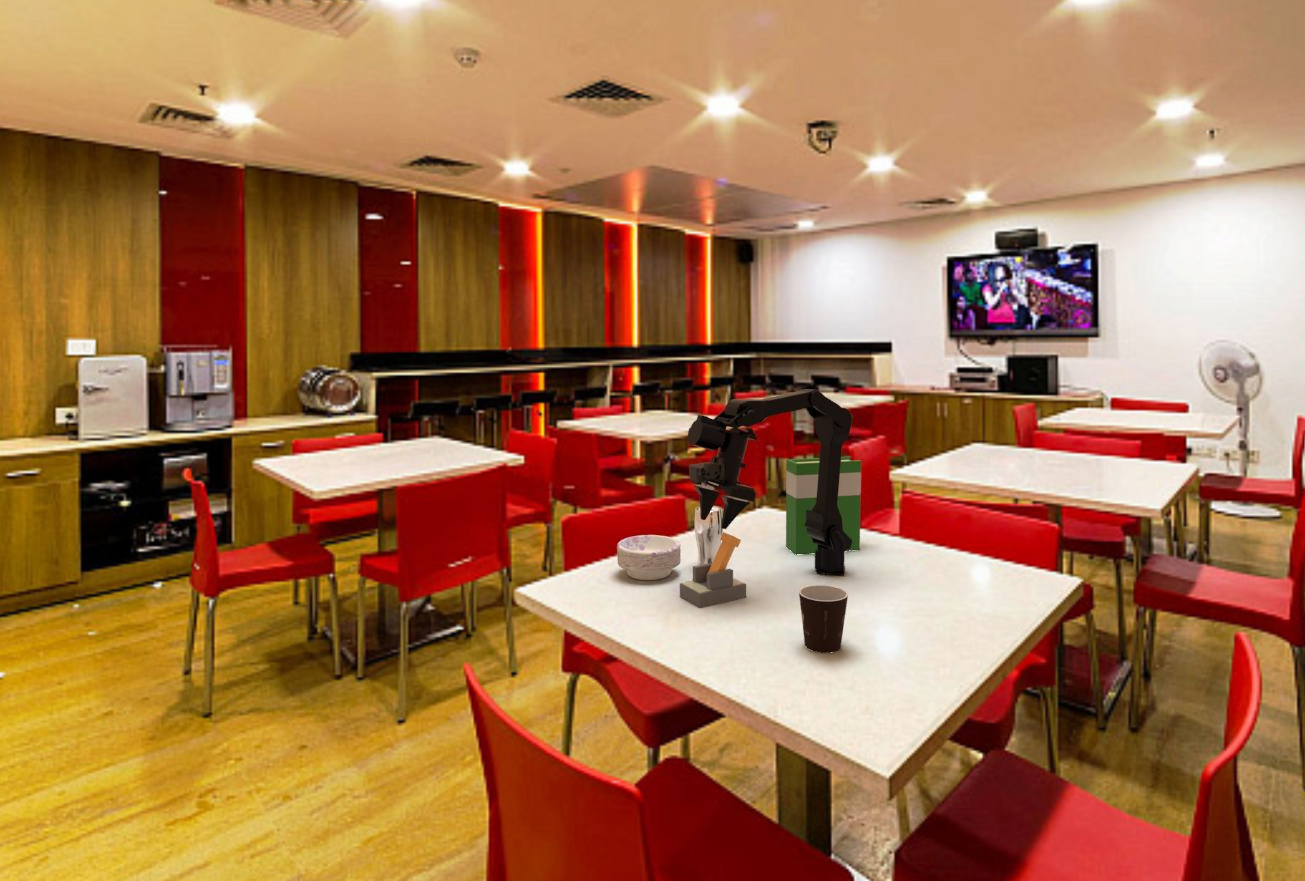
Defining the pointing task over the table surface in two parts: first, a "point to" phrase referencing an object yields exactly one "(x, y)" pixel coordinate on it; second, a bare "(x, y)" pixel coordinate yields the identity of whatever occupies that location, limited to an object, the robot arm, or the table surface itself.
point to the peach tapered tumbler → (708, 534)
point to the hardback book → (804, 498)
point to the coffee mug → (823, 617)
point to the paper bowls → (648, 556)
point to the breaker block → (712, 587)
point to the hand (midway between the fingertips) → (712, 524)
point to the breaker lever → (724, 552)
